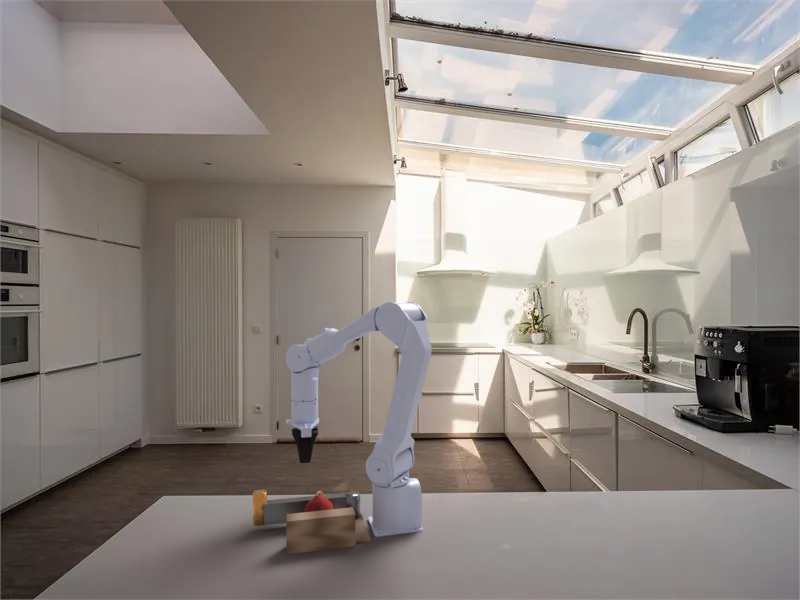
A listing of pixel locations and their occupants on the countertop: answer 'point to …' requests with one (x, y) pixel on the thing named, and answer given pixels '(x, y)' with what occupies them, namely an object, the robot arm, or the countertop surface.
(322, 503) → the onion
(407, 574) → the countertop surface
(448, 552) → the countertop surface
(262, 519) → the lever
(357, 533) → the bench
